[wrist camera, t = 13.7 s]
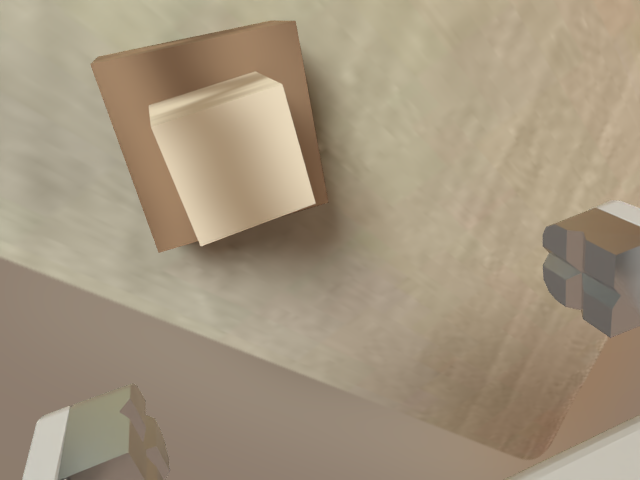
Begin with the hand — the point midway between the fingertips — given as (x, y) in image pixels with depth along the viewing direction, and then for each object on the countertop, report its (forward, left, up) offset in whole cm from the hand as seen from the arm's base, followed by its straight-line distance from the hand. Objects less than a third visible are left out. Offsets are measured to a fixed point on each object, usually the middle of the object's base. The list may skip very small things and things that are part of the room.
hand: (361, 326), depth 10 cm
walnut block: (0, 0, -22) cm, 22 cm away
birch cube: (0, 0, -17) cm, 17 cm away
